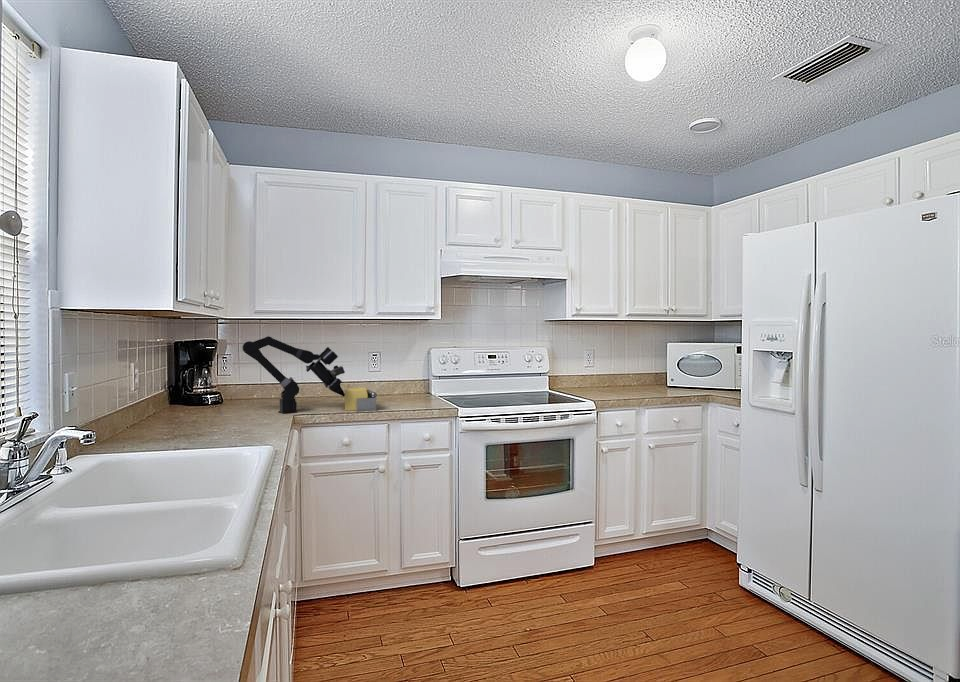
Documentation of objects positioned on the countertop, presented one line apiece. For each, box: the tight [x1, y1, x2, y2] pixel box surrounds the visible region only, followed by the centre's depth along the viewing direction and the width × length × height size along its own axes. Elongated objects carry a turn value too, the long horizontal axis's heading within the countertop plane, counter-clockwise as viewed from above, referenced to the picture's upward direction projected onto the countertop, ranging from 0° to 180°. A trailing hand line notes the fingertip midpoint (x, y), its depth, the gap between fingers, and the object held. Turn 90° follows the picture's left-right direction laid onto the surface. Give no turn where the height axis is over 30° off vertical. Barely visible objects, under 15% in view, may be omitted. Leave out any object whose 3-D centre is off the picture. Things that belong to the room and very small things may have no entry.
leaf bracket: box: [356, 389, 378, 412], centre depth 282 cm, size 10×17×8 cm, turn 23°
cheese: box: [344, 386, 368, 411], centre depth 280 cm, size 10×11×10 cm
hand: (344, 395), depth 278 cm, fingers closed, pressing on cheese
